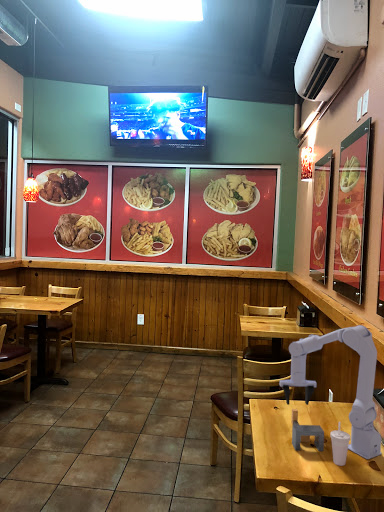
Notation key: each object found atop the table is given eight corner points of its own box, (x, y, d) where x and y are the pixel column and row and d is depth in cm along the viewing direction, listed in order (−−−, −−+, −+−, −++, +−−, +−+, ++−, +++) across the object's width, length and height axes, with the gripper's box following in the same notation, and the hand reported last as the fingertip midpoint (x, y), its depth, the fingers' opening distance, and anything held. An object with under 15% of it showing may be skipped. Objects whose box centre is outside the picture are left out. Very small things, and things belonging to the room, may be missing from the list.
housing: (323, 451, 145) (324, 431, 144) (295, 450, 145) (295, 431, 144) (319, 444, 150) (319, 425, 149) (291, 443, 150) (292, 424, 149)
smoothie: (325, 459, 139) (326, 419, 138) (339, 456, 142) (341, 416, 141) (338, 469, 133) (340, 427, 133) (353, 465, 136) (355, 424, 135)
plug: (309, 442, 151) (310, 426, 151) (298, 441, 151) (299, 425, 151) (298, 423, 167) (299, 408, 166) (288, 423, 167) (289, 408, 166)
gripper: (313, 367, 169) (312, 400, 169) (278, 367, 169) (277, 399, 169) (318, 373, 162) (317, 407, 162) (282, 372, 162) (281, 406, 162)
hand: (297, 403), depth 165 cm, fingers open, 7 cm apart
